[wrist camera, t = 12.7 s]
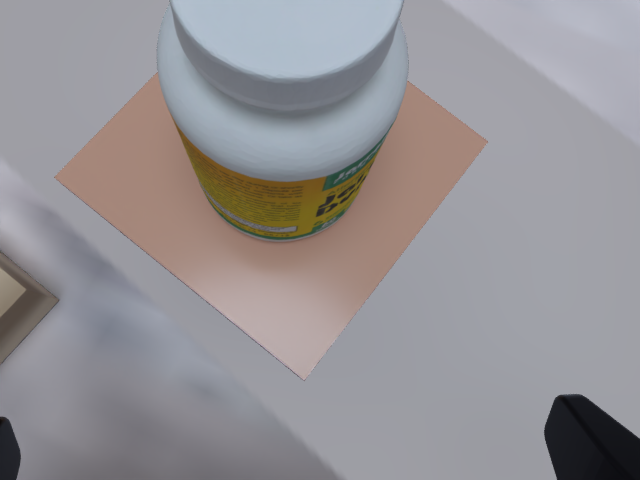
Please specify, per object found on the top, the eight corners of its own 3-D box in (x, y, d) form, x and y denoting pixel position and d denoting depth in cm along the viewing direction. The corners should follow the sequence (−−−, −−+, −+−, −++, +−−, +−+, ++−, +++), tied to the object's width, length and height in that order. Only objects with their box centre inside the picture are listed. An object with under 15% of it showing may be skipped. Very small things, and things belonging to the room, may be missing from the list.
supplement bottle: (240, 64, 19) (211, -217, 10) (387, 128, 19) (493, -97, 10) (167, 205, 18) (57, 31, 9) (323, 273, 18) (378, 171, 9)
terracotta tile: (480, 150, 20) (488, 141, 20) (303, 380, 18) (304, 380, 17) (259, -17, 21) (258, -32, 20) (63, 184, 19) (53, 177, 18)
